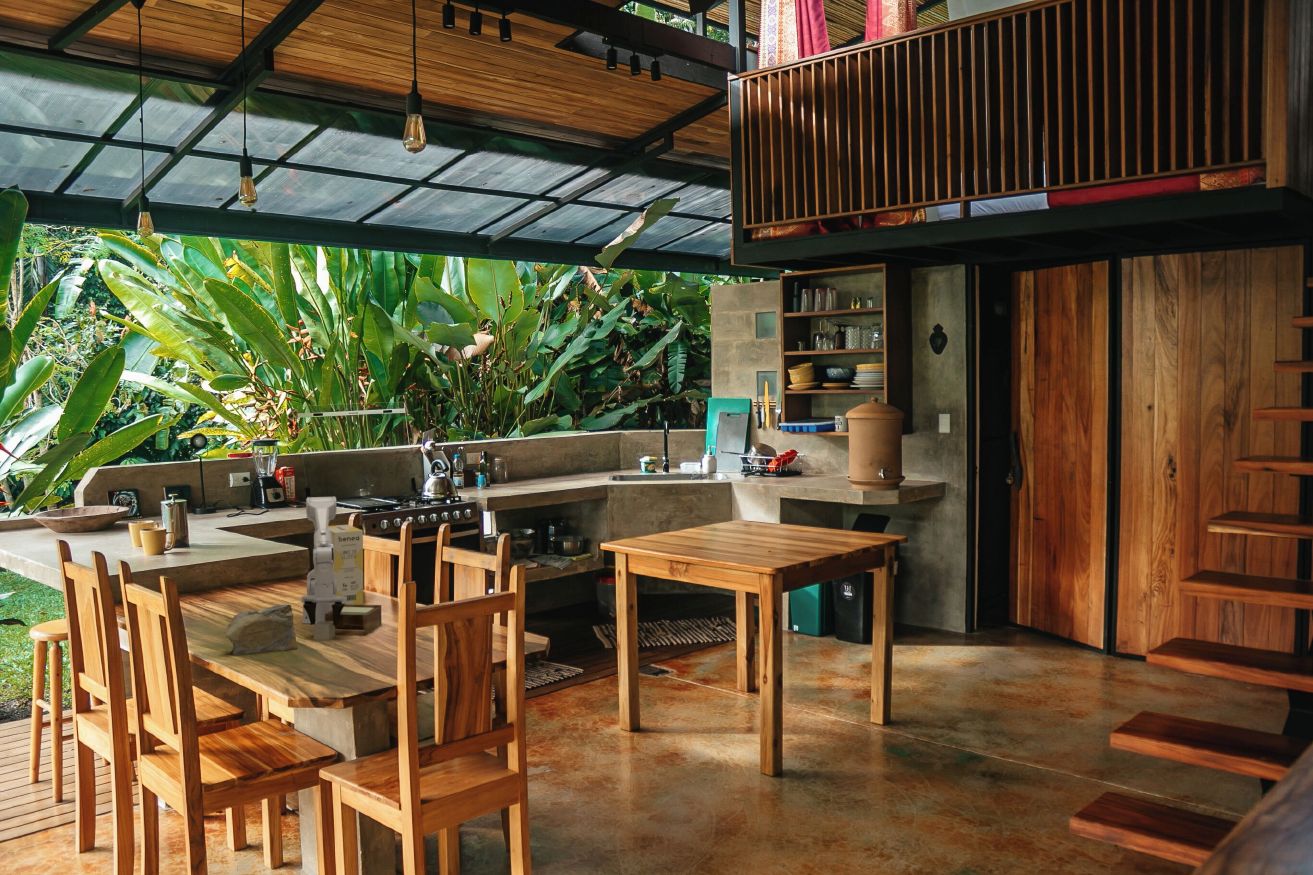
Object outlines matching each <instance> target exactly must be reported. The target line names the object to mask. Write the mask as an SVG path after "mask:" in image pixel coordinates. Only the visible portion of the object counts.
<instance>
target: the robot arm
mask: <svg viewBox="0 0 1313 875" xmlns="http://www.w3.org/2000/svg"><path fill="white" fill-rule="evenodd" d="M305 503H306V504H305V505H306V506H305V510H306V513H305V514H306V518H307V521H311V522H312V524H313V526H314V534H313V545H314V546H313V549H312V561H313V562H312V563H313V566H314V567H313V569H312V570H310V571H309V572H307V575H306V595H302V596H301V603H302V622H301V623H302V624H309V625H310V626H314V624H316V623H318V622H319V621H325V614H326V613H328V612H330V611H331V610H333V626H336V625H338V621H339V617H340V614H341V611H342V609H343V607H344V605H345V603H347V597H344V596H335V595H334V594H336V592H337V580H336V573H335V572H334V571H333V564H334V561H335V551H334V546H333V544H332V533H331V531H330V530H328V526H329V523H330V521H332V520H334V519H335V517H336V514H337V497H336V496H334V495H333V496H318V497H317V496H316V497H313V496H311V497H310V496H307V498H306V499H305ZM332 560H333V564H332ZM333 603H335V604H333Z"/></svg>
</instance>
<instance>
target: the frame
mask: <svg viewBox="0 0 1313 875" xmlns="http://www.w3.org/2000/svg"><path fill="white" fill-rule="evenodd" d="M344 607H366V608H374V609H373V610H371V611H370V612H368V613H366V614H365V615H347V614H340V617H339V621H338V625H336V626H335V636H361V637H362V636H363V637H365V636H367V635H369V634H370V633H372V632H373V631H374V630H377V629H379V627H380V626H382V604H365V603H363V604H345V605H344ZM325 621H333V610H331V611H330V612H328V613H326V614H325ZM342 626H363V629H340V627H342ZM338 628H339V629H338Z"/></svg>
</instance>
